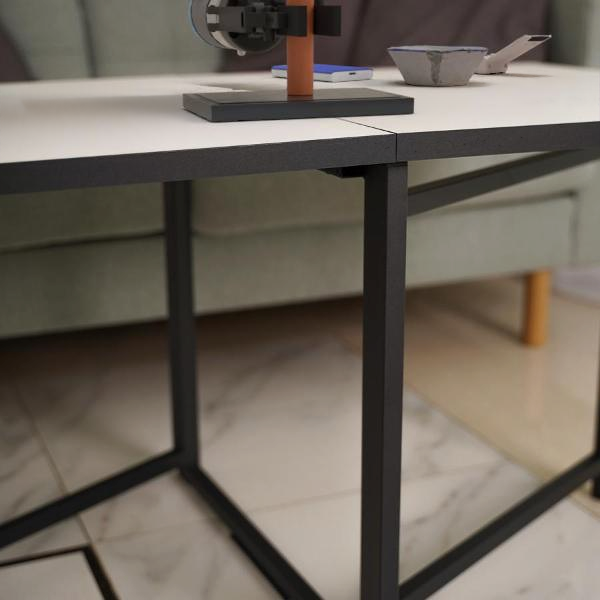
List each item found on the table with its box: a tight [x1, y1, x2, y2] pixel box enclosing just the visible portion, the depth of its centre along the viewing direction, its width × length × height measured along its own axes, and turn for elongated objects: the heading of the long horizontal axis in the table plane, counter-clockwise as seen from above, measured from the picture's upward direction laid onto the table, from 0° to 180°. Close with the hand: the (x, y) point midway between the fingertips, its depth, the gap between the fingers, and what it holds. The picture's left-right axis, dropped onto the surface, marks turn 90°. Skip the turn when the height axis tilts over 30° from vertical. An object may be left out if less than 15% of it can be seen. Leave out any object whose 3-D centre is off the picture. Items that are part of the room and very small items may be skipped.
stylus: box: [286, 0, 315, 96], centre depth 88 cm, size 3×3×12 cm
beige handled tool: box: [474, 34, 552, 75], centre depth 139 cm, size 6×6×25 cm
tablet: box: [182, 87, 415, 123], centre depth 90 cm, size 20×12×2 cm, turn 109°
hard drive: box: [271, 63, 374, 83], centre depth 129 cm, size 2×8×12 cm
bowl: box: [386, 44, 490, 87], centre depth 120 cm, size 13×13×5 cm
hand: (320, 21), depth 82 cm, fingers closed on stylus, 3 cm apart
